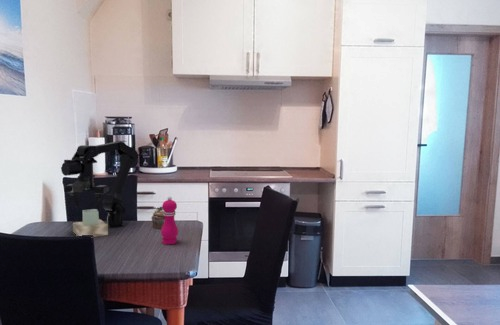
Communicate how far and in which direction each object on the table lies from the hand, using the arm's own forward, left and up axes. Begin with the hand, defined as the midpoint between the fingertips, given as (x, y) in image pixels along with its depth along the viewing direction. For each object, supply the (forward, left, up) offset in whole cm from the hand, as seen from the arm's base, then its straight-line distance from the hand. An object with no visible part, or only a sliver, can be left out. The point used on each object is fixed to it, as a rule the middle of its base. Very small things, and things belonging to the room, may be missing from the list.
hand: (87, 207), depth 171 cm
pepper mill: (-28, +31, -12) cm, 43 cm away
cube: (-1, +2, -7) cm, 8 cm away
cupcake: (-33, +6, -12) cm, 36 cm away
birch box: (-1, +2, -12) cm, 13 cm away
